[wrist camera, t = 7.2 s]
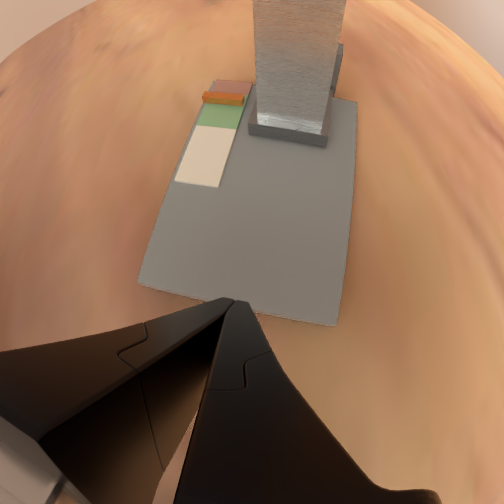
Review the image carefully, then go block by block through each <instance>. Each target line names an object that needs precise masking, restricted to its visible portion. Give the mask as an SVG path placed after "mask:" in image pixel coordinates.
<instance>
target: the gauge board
mask: <svg viewBox="0 0 504 504" xmlns="http://www.w3.org/2000/svg"><path fill="white" fill-rule="evenodd" d="M342 56H343V44H338V50H337V55H336V60H335V65H334V71H333V76H332V81H331V86H333V98H332V109H331V120H330V130H329V138H328V142H327V145H326V148H322V147H317V146H311V145H306V144H301V143H295V142H289V141H284V140H278V139H271V138H265V137H258V136H251V135H249V134H248V121H249V118H250V114H251V111H252V108H253V105H254V102H255V99H256V96H257V93H256V85H253V83H250V82H240V81H228V80H216V81H213V83H212V85H211V88H210V90H209V92H220V93H232V94H242V95H244V100H245V101H244V104H243V106H233V105H223V104H212V103H203V105H202V107H201V109H200V111H199V114H198V116H197V118H196V120H195V123H194V125H193V127H192V130H191V132H190V134H189V137H188V139H187V141H186V144H185V146H184V149H183V151H182V153H181V156H180V158H179V161H178V163H177V166H176V169H175V171H174V174H173V176H172V179H171V181H170V184H169V187H168V189H167V192H166V195H165V197H164V200H163V203H162V206H161V209H160V211H159V214H158V217H157V220H156V223H155V226H154V229H153V232H152V235H151V238H150V241H149V244H148V247H147V250H146V253H145V256H144V259H143V263H142V266H141V269H140V272H139V276H138V279H137V282H138V283H139V284H141V285H142V286H145V287H149V288H153V289H157V290H161V291H165V292H169V293H173V294H177V295H181V296H185V297H189V298H193V299H198V300H202V301H206V302H209V301H212V300H215V299H218V298H221V297H226V298H231V299H234V300H235V301H236V300H241V301H247V302H249V304H250V306H251V308H252V310H253V312H256V313H261V314H266V315H271V316H276V317H281V318H286V319H291V320H297V321H302V322H307V323H313V324H318V325H324V326H329V327H334V326H336V325H337V320H338V314H339V308H340V301H341V295H342V288H343V281H344V273H345V266H346V258H347V249H348V241H349V231H350V221H351V211H352V199H353V186H354V171H355V153H356V126H357V102H353V101H348V100H344V99H339V98H334V93H335V89H336V84H337V79H338V75H339V70H340V65H341V61H342Z"/></svg>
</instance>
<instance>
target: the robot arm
mask: <svg viewBox="0 0 504 504" xmlns="http://www.w3.org/2000/svg"><path fill="white" fill-rule="evenodd" d="M198 407H199V409H198ZM197 409H198V413H197V416H196V420H195V424H194V427H193V431H192V435H191V438H190V442H189V446H188V449H187V453H186V457H185V460H184V464H183V468H182V471H181V475H180V479H179V483H178V486H177V490H176V494H175V498H174V501H173V504H442V503H441V500H440V498H439V496H438V494H437V493H436V492H434V491H432V490H428V489H411V490H388V489H384V488H382V487H380V486H378V485H376V484H374V483H373V482H372V481H371V480H370V479H369V478H368V477H367V476H366V474H365V473H364V472H363V471H362V470H361V468H360V467H359V466H358V465H357V464H356V462H355V461H354V460H353V459H352V458H351V456H350V455H349V454H348V453H347V452H346V450H345V449H344V448H343V447H342V445H341V444H340V443H339V442H338V441H337V439H336V438H335V437H334V436H333V434H332V433H331V432H330V431H329V429H328V428H327V427H326V426H325V424H324V423H323V422H322V421H321V419H320V418H319V417H318V416H317V414H316V413H315V412H314V411H313V409H312V408H311V407H310V405H309V404H308V403H307V402H306V400H305V399H304V398H303V396H302V395H301V394H300V393H299V391H298V390H297V389H296V387H295V386H294V385H293V383H292V382H291V381H290V379H289V378H288V376H287V375H286V374H285V372H284V371H283V369H282V367H281V366H280V364H279V362H278V360H277V358H276V356H275V354H274V353H273V351H272V349H271V347H270V345H269V343H268V341H267V339H266V337H265V335H264V333H263V331H262V329H261V326H260V324H259V322H258V320H257V318H256V316H255V314H254V312H253V310H252V308H251V306H250V304H249V302H247V301H241V300H236V301H235V300H234V299H231V298H226V297H221V298H218V299H215V300H212V301H209V302H206V303H203V304H200V305H197V306H193V307H190V308H187V309H184V310H181V311H178V312H175V313H172V314H169V315H165V316H162V317H159V318H156V319H153V320H149V321H146V322H144V323H143V322H141V323H138V324H135V325H132V326H128V327H125V328H121V329H117V330H113V331H109V332H104V333H100V334H95V335H90V336H85V337H80V338H75V339H70V340H65V341H59V342H54V343H49V344H43V345H38V346H32V347H26V348H21V349H15V350H9V351H3V352H0V504H152V502H153V499H154V496H155V492H156V489H157V486H158V484H159V482H160V479H161V477H162V475H163V472H165V470H166V468H167V466H168V464H169V462H170V460H171V459H172V457H173V455H174V453H175V451H176V449H177V447H178V445H179V443H180V442H181V440H182V438H183V436H184V434H185V432H186V430H187V428H188V426H189V424H190V422H191V421H192V419H193V417H194V415H195V413H196V411H197Z"/></svg>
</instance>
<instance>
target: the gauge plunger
mask: <svg viewBox="0 0 504 504" xmlns="http://www.w3.org/2000/svg"><path fill="white" fill-rule="evenodd" d="M345 5H346V0H253V18H254V41H255V67H256V93H257V96H256V99H255V102H254V105H253V108H252V111H251V114H250V118H249V121H248V134H249V135H251V136H258V137H265V138H271V139H278V140H284V141H289V142H295V143H301V144H306V145H311V146H317V147H322V148H326V145H327V142H328V138H329V130H330V120H331V109H332V98H333V86H331V81H332V76H333V71H334V65H335V60H336V55H337V50H338V44H339V39H340V33H341V28H342V22H343V16H344V10H345ZM202 98H203V103H212V104H223V105H233V106H243V104H244V101H245V100H244V95H242V94H232V93H220V92H206V91H205V92H204V94H203V96H202Z"/></svg>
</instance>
